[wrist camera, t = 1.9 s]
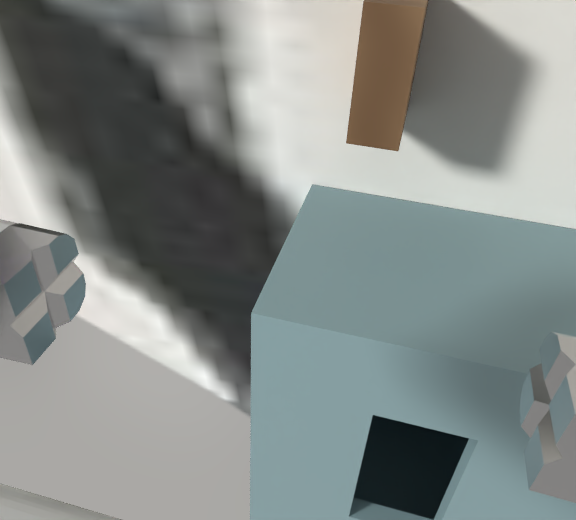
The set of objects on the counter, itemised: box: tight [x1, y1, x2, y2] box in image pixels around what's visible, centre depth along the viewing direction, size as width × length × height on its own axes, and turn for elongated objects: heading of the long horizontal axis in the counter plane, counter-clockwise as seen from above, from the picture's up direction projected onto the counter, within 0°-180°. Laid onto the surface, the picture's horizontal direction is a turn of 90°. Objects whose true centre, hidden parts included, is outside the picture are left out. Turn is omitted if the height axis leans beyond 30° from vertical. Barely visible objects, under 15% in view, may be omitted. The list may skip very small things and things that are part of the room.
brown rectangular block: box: [346, 0, 429, 151], centre depth 20 cm, size 2×5×4 cm, turn 177°
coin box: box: [250, 185, 576, 520], centre depth 26 cm, size 20×16×10 cm
